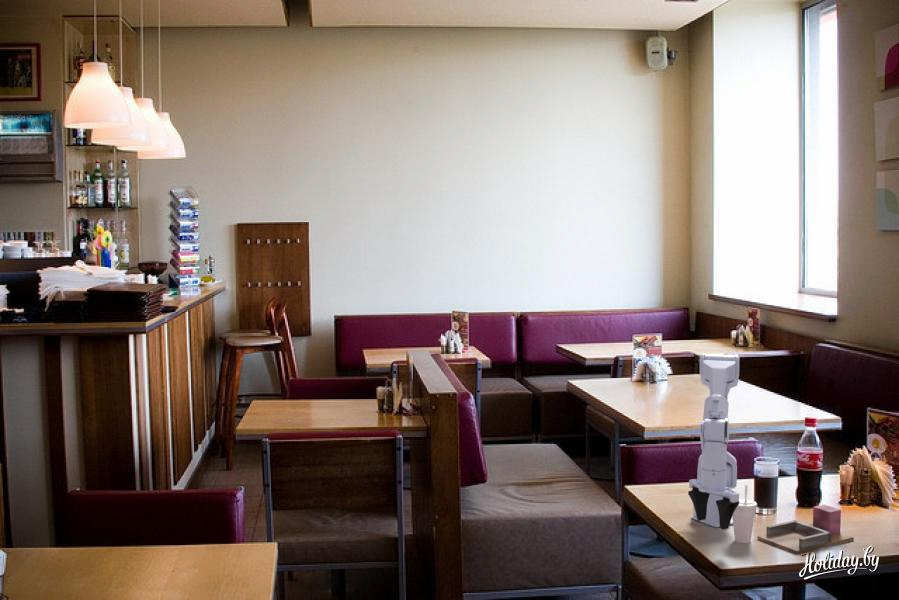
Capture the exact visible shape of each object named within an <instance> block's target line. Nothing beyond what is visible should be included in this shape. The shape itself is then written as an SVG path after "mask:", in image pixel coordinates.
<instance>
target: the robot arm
mask: <svg viewBox="0 0 899 600" xmlns="http://www.w3.org/2000/svg"><path fill="white" fill-rule="evenodd" d="M699 376H700V381H701V384H702V385H704V386H706V387H708V389H709V395H708V397H706V398H705V400H704V405H703V415H702V420H701V421H700V427H699V438H700V439H699V440H700V450H701V454H700V456H699V457H698V463H697V475H696V476H697V478H694V479H688V483H689V484H688V488H690V489H691V490H688V492H687V493H688V496H689V498H690V499H691V502H692V505H693V507H692V508H693V510H692V512H693V513H692V514H693V515H690V518H691V519H693V520H695V521H698V522H701V523H702V524H706V525H709V526H711V527H714V528H719V529H720V530H726V529H727V530H728V529H729V528H730V525H733V518H732V515H733V513H734V511H735V509H736V508H737V506H738V505H739V499H740V493H738V492H736V491H734V490H733V489H736V487H737V482H738V481H737V480H738V466H737V464H738V463H737V459H736V457H735V456H734V455H732V453H730V452H729V451H727V449H728V447H727V446H728V445H727V444H729V441H730V440H729V439H730V421H729V401H728V399H729V398H728V397H729V393H730V392H731V389H732V388H735V387H737V386H738V383H739V377H740V356H739V355H738V354H718V353H704V352H702V354H700V356H699Z"/></svg>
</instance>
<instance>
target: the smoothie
mask: <svg viewBox="0 0 899 600" xmlns="http://www.w3.org/2000/svg"><path fill="white" fill-rule="evenodd" d="M756 509H758V503H757V502H756V501H755V500H753V499H748V484H745V485H744V498H739V505H738V506H737V508H736V509H735V511H734V513H733V515H732V518H731V519H733V524H732V526H733V536H734V542H736V543H739V544H749V543H751V540H752V534H753V528H754V523H755V515H756Z"/></svg>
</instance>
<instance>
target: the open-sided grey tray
mask: <svg viewBox="0 0 899 600" xmlns="http://www.w3.org/2000/svg"><path fill="white" fill-rule="evenodd" d="M841 520H842V509H840V508H836V507H834V506H830V505H827V504H820V505H817V506H816V505H815V506H813V510H812V523H809V524H807V523H805V522H801V521H798V520H796V519H794V520H790V521H784V522H781V523H777V524H776V523H775V524H772V525H767V526H766V532H765V533H766V534H762V535H757V540H758V541H761V542H764V543H765V544H767V545H768V544H769V545H772V546H774V547H776V548H778V549H782V550H785V551H787V552H789V553H792V554H795V555H800V554H804V553H808V552H811V551H815V550H820V549H823V548H828V546H829V547H832V546H837V545H840V544H845V543H849V542H852V541H854V539H855V538H854V536H851V535H848V534H847V533H846V534H845V533H843V532H841V526H842V525H841V523H842V521H841ZM844 542H845V543H844Z"/></svg>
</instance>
